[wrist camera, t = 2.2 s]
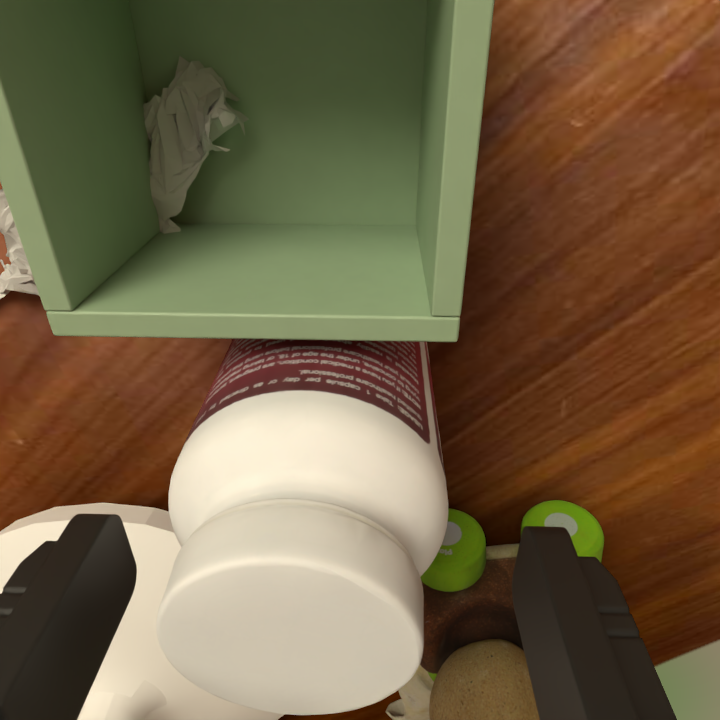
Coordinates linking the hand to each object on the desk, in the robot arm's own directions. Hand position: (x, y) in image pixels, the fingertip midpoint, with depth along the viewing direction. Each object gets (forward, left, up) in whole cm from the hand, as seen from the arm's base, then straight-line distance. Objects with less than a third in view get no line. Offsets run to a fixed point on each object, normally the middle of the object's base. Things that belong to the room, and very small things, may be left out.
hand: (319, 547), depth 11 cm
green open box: (-8, -1, -9) cm, 12 cm away
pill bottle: (0, 0, -9) cm, 9 cm away
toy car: (+12, +7, -9) cm, 17 cm away
